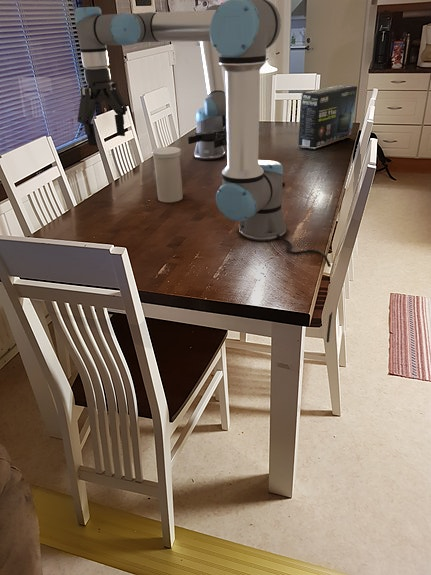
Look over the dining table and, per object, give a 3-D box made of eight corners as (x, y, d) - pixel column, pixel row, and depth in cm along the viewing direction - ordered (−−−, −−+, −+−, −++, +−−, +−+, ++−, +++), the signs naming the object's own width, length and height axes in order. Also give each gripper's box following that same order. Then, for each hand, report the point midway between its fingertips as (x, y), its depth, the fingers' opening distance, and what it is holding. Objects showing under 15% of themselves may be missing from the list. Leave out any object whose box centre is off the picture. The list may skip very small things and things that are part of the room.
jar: (186, 194, 183) (183, 148, 174) (178, 203, 175) (174, 155, 166) (163, 192, 186) (158, 147, 177) (154, 201, 178) (148, 154, 168)
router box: (314, 151, 231) (318, 94, 217) (296, 148, 237) (299, 92, 224) (352, 138, 251) (358, 85, 238) (335, 135, 258) (340, 83, 245)
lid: (184, 151, 175) (184, 147, 174) (175, 159, 166) (174, 154, 165) (158, 150, 178) (158, 146, 177) (147, 158, 169) (147, 153, 168)
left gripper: (258, 144, 190) (226, 155, 176) (211, 138, 205) (179, 148, 191) (258, 126, 187) (226, 135, 173) (211, 121, 201) (177, 129, 187)
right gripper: (114, 63, 147) (123, 131, 158) (55, 72, 129) (70, 148, 140) (132, 63, 144) (140, 132, 155) (75, 72, 126) (88, 150, 137)
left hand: (201, 142), depth 182 cm, fingers open, 13 cm apart
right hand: (107, 140), depth 148 cm, fingers open, 13 cm apart
